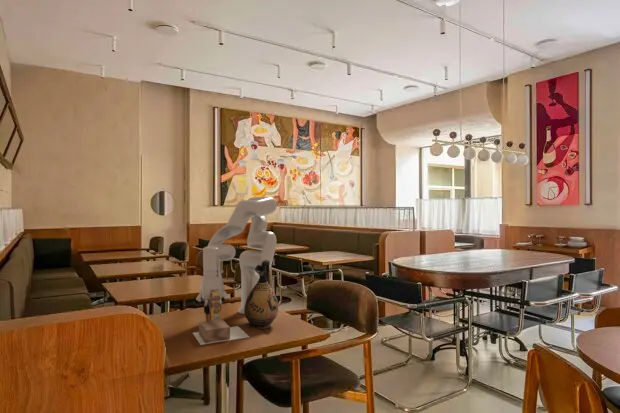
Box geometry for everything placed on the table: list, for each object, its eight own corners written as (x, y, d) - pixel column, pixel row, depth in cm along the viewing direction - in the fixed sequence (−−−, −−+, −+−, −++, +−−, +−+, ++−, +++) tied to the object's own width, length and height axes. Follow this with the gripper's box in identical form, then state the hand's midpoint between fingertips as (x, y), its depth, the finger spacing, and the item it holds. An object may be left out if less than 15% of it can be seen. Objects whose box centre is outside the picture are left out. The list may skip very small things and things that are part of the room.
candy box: (221, 323, 180) (220, 290, 179) (212, 326, 177) (211, 292, 176) (213, 319, 187) (212, 286, 186) (204, 321, 184) (203, 288, 183)
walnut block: (222, 330, 172) (222, 319, 172) (230, 339, 161) (230, 326, 161) (198, 334, 167) (198, 322, 167) (205, 343, 157) (205, 330, 157)
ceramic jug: (272, 332, 173) (272, 263, 172) (239, 330, 176) (239, 262, 175) (283, 321, 189) (283, 258, 189) (252, 319, 192) (252, 257, 192)
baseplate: (238, 328, 178) (238, 326, 178) (249, 339, 164) (249, 336, 164) (192, 335, 169) (192, 332, 169) (200, 347, 155) (200, 344, 155)
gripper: (228, 270, 188) (228, 308, 189) (191, 274, 180) (192, 313, 181) (232, 273, 181) (233, 312, 182) (194, 277, 174) (195, 318, 174)
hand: (212, 312), depth 181 cm, fingers closed on candy box, 4 cm apart
